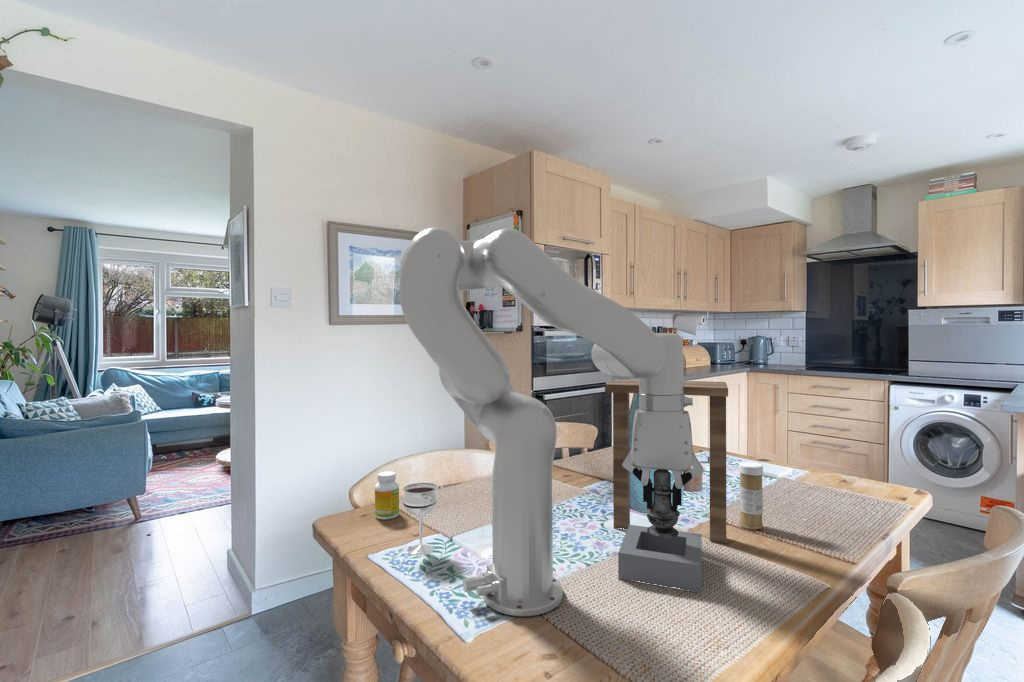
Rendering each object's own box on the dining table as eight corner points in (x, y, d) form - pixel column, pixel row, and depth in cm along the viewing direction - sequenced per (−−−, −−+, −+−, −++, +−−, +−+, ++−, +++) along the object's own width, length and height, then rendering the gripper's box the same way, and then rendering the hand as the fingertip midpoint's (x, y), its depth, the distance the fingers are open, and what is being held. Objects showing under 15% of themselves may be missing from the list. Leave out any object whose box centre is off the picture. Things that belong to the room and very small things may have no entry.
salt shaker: (682, 540, 83) (681, 469, 82) (646, 537, 84) (645, 467, 84) (677, 526, 88) (677, 460, 88) (644, 524, 90) (643, 459, 89)
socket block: (701, 593, 78) (701, 565, 78) (618, 579, 82) (618, 552, 82) (701, 558, 90) (701, 534, 90) (629, 547, 95) (629, 524, 94)
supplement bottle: (395, 520, 110) (395, 476, 109) (372, 520, 110) (371, 476, 110) (401, 511, 115) (401, 470, 115) (378, 511, 115) (378, 470, 115)
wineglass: (444, 552, 93) (443, 489, 93) (409, 561, 90) (409, 495, 89) (431, 539, 99) (430, 480, 99) (398, 547, 95) (397, 486, 95)
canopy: (728, 563, 88) (728, 388, 87) (605, 545, 96) (604, 384, 95) (725, 537, 99) (725, 382, 98) (615, 523, 107) (615, 379, 106)
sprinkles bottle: (752, 521, 107) (752, 460, 107) (768, 529, 103) (768, 465, 103) (734, 523, 106) (734, 461, 106) (749, 531, 102) (749, 467, 102)
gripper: (712, 402, 86) (713, 505, 86) (616, 399, 92) (618, 495, 93) (712, 408, 79) (713, 521, 79) (609, 404, 85) (611, 509, 86)
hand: (662, 506), depth 86 cm, fingers closed on salt shaker, 3 cm apart
